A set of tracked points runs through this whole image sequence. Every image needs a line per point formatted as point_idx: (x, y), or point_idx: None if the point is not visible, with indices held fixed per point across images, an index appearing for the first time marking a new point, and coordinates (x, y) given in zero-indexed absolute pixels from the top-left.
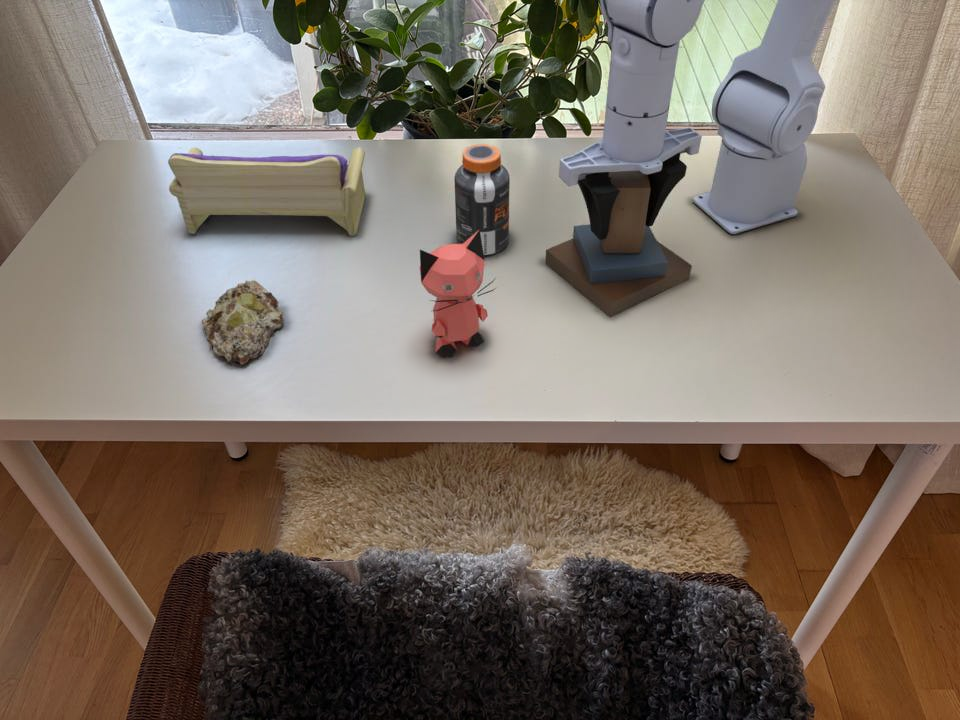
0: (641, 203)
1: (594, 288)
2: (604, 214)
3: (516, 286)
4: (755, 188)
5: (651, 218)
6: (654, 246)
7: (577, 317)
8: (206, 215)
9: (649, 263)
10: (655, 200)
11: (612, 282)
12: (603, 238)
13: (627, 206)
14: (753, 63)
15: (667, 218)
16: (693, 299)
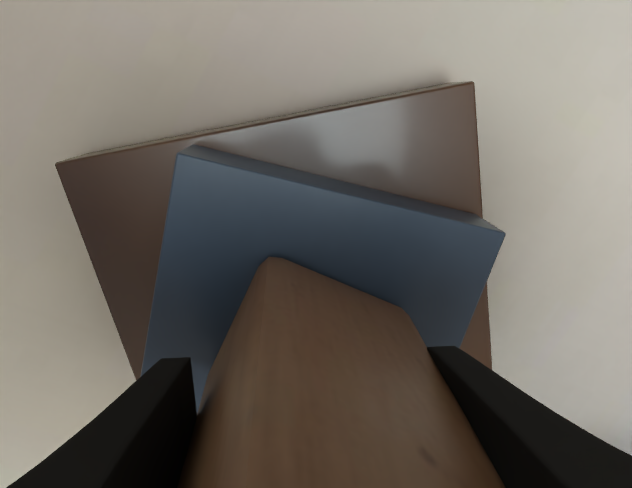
0: (306, 457)
1: (478, 188)
2: (584, 444)
3: (604, 327)
4: None
5: (171, 379)
6: (181, 275)
7: (541, 128)
8: None
9: (261, 180)
10: (121, 477)
11: (402, 192)
12: (444, 348)
13: (403, 466)
14: None
15: (16, 450)
16: (123, 40)
